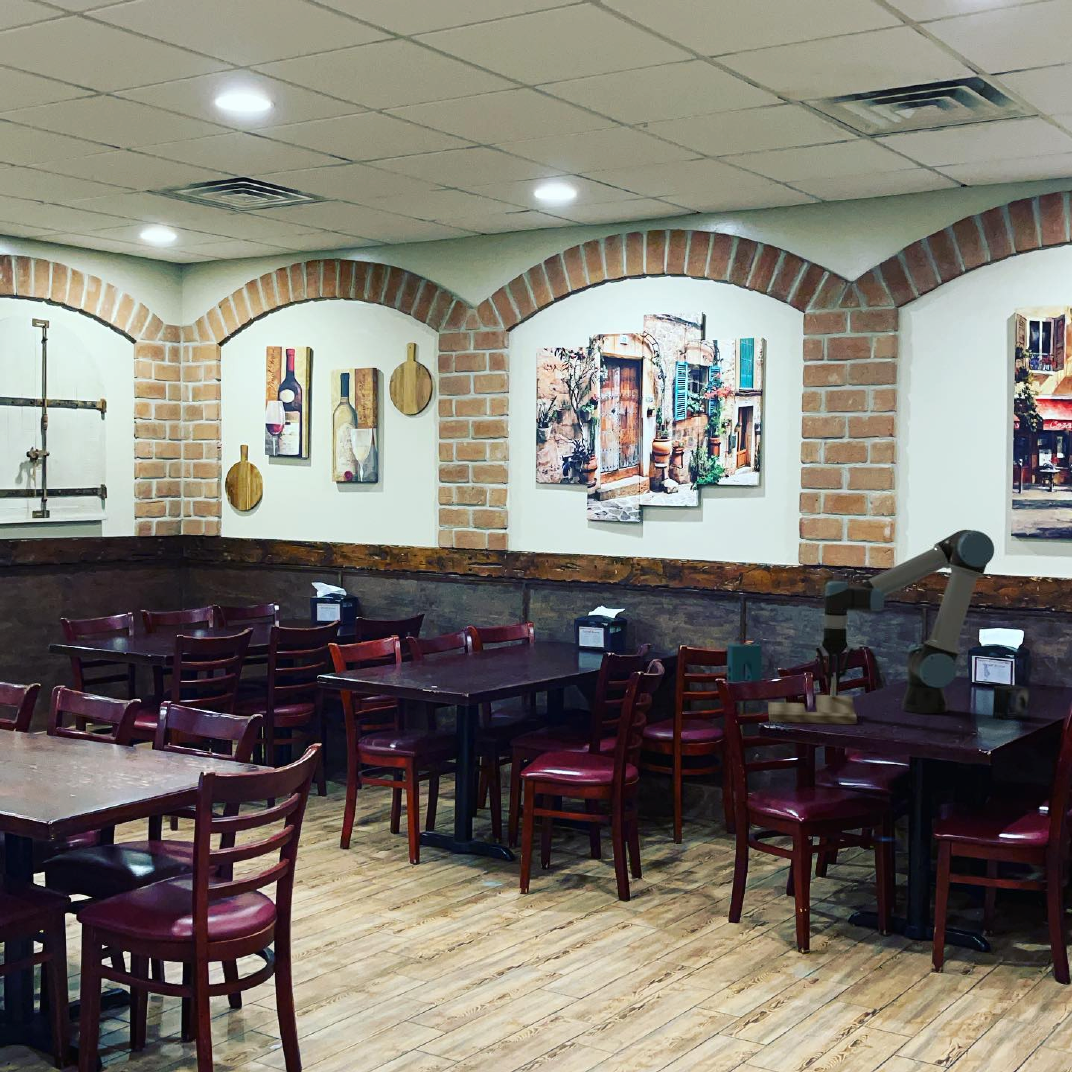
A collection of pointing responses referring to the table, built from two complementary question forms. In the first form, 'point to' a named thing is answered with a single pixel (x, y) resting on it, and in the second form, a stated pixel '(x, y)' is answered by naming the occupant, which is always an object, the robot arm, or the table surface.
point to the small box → (1010, 702)
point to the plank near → (834, 704)
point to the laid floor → (812, 717)
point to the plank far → (786, 707)
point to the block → (741, 656)
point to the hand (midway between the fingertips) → (833, 696)
